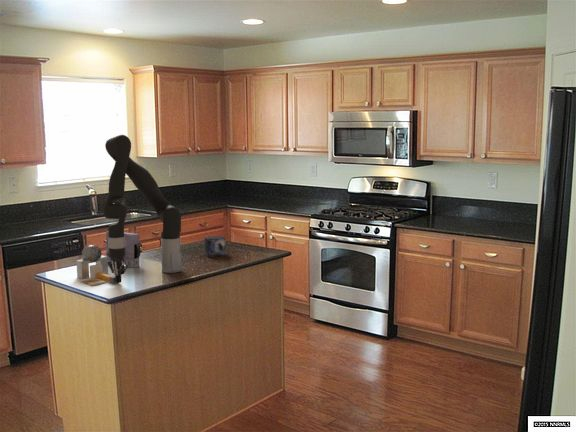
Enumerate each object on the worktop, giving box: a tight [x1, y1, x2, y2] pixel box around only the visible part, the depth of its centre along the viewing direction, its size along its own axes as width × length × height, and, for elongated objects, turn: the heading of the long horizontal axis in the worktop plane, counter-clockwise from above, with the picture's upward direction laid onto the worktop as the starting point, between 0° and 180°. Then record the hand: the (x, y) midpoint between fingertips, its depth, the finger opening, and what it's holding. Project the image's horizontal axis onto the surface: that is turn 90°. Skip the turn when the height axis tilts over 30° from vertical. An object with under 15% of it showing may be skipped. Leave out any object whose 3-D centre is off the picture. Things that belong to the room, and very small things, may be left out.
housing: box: [76, 244, 109, 280], centre depth 288 cm, size 4×14×15 cm, turn 139°
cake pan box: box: [105, 230, 142, 269], centre depth 307 cm, size 19×5×18 cm, turn 68°
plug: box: [89, 263, 117, 285], centre depth 282 cm, size 19×4×6 cm, turn 49°
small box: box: [204, 235, 226, 258], centre depth 330 cm, size 11×6×10 cm, turn 114°
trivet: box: [80, 277, 107, 287], centre depth 277 cm, size 10×7×1 cm
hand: (118, 282), depth 275 cm, fingers closed
